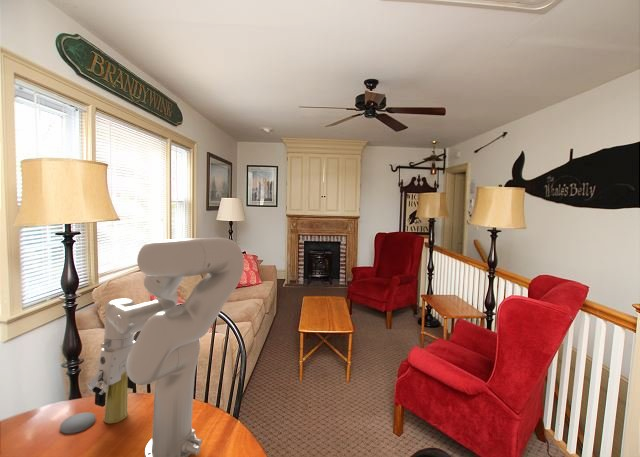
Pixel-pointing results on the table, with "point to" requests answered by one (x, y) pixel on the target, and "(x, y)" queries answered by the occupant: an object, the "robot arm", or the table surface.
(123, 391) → the vase
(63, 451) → the table surface
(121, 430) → the table surface
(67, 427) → the coaster
